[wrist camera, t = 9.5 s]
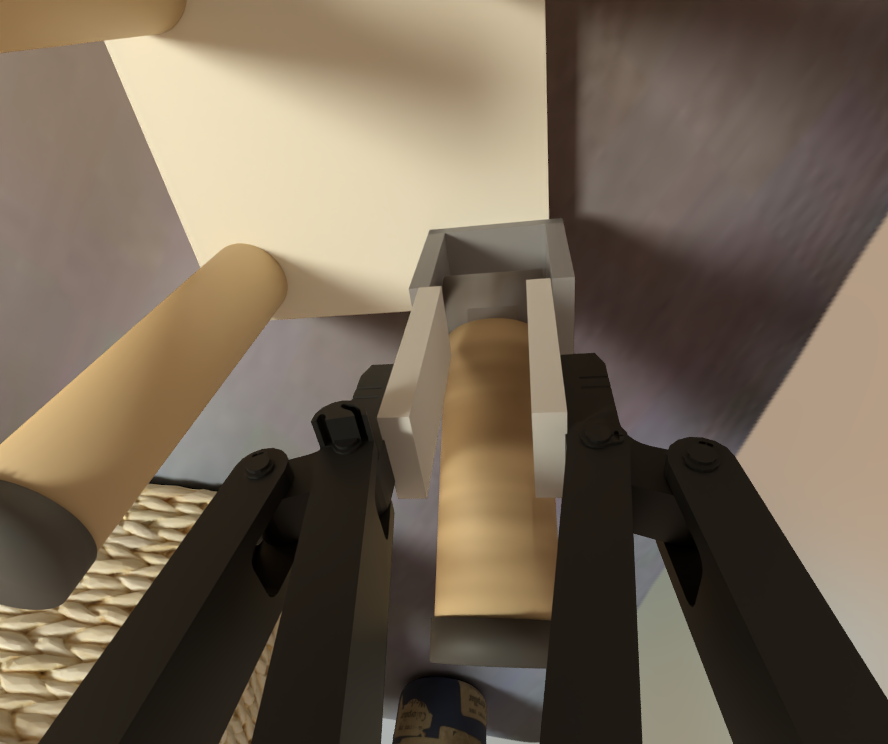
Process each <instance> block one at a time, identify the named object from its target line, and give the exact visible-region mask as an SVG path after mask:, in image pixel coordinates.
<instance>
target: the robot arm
mask: <svg viewBox="0 0 888 744" xmlns="http://www.w3.org/2000/svg"><path fill="white" fill-rule="evenodd" d="M526 291H527V315H528V339H529V363H530V387H531V411H532V433H533V453H534V474H535V495H536V498H562V504H561V515H560V526H559V537H558V548H557V559H556V570H555V581H554V592H553V603H552V614H551V625H550V636H549V647H548V658H547V669H546V680H545V691H544V702H543V713H542V725H541V736H540V744H642V725H641V701H640V677H639V654H638V631H637V607H636V584H635V561H634V537H633V533H634V534H637V535H641V536H645V537H648V538H652V539H655V540H656V543H657V546H658V548H659V551H660V554H661V556H662V559H663V561H664V564H665V567H666V569H667V572H668V574H669V577H670V580H671V582H672V585H673V588H674V590H675V592H676V595H677V598H678V600H679V603H680V606H681V608H682V611H683V613H684V616H685V619H686V621H687V624H688V627H689V629H690V632H691V634H692V637H693V640H694V642H695V645H696V647H697V650H698V653H699V655H700V658H701V661H702V663H703V666H704V668H705V671H706V674H707V676H708V679H709V682H710V684H711V687H712V689H713V692H714V695H715V697H716V700H717V702H718V705H719V708H720V710H721V713H722V715H723V718H724V721H725V723H726V726H727V728H728V731H729V734H730V736H731V739H732V742H733V744H888V699H887V697H886V696H885V695H884V693H883V691H882V690H881V688H880V687H879V685H878V683H877V682H876V680H875V678H874V677H873V675H872V674H871V672H870V670H869V669H868V667H867V666H866V664H865V663H864V661H863V659H862V658H861V656H860V655H859V653H858V652H857V650H856V648H855V647H854V645H853V643H852V642H851V640H850V639H849V637H848V636H847V634H846V632H845V631H844V629H843V627H842V626H841V624H840V623H839V621H838V620H837V618H836V616H835V615H834V613H833V612H832V610H831V608H830V607H829V605H828V604H827V602H826V601H825V599H824V597H823V596H822V594H821V592H820V591H819V589H818V588H817V586H816V585H815V583H814V581H813V580H812V578H811V577H810V575H809V573H808V572H807V570H806V569H805V567H804V565H803V564H802V562H801V561H800V559H799V558H798V556H797V554H796V553H795V551H794V550H793V548H792V547H791V545H790V543H789V542H788V540H787V538H786V537H785V536H784V534H783V532H782V530H781V529H780V527H779V526H778V524H777V522H776V521H775V519H774V518H773V516H772V515H771V513H770V511H769V510H768V508H767V507H766V505H765V503H764V502H763V500H762V499H761V497H760V495H759V494H758V492H757V491H756V489H755V487H754V486H753V484H752V483H751V481H750V480H749V478H748V476H747V475H746V473H745V472H744V470H743V468H742V467H741V465H740V464H739V462H738V460H737V459H736V457H735V456H734V455H733V454H732V453H731V452H730V450H729V449H728V448H727V447H725V446H723V445H721V444H719V443H718V442H716V441H713V440H709V439H706V438H699V437H688V438H684V439H680V440H677V441H676V442H674V443H673V444H671V445H670V447H669V449H668V450H667V449H662V448H657V447H652V446H649V445H645V444H642V443H640V442H638V441H636V440H634V439H632V438H631V437H629V436H628V435H627V432H626V431H625V430H624V429H623V428H622V427H621V425H620V423H619V419H618V415H617V411H616V406H615V402H614V398H613V394H612V390H611V388H610V382H609V378H608V374H607V370H606V365H605V363H604V362H603V361H602V360H601V359H600V358H599V357H598V356H597V355H596V354H595V353H586V354H566V355H560V351H559V343H558V335H557V327H556V319H555V311H554V303H553V295H552V287H551V280H550V278H545V279H531V280H526ZM451 356H452V355H451V348H450V341H449V335H448V328H447V321H446V314H445V308H444V301H443V294H442V287H441V286H434V287H421V288H418V291H417V294H416V297H415V300H414V304H413V307H412V310H411V313H410V316H409V319H408V322H407V325H406V328H405V332H404V335H403V338H402V341H401V344H400V347H399V350H398V353H397V356H396V359H395V363H394V364H386V365H372V366H371V367H370V368H369V369H368V370H367V371H366V372H365V373H364V374H363V375H362V376H361V378H360V380H359V383H358V385H357V390H355V393H354V395H353V399H352V400H351V401H339V402H335V403H331V404H329V405H327V406H325V407H323V408H322V409H321V410H319V411H318V412H317V413H316V414H315V415H314V417H313V419H312V421H311V423H312V426H313V428H314V431H315V434H316V437H317V439H318V442H319V445H320V450H319V451H317V452H315V453H312V454H309V455H306V456H302V457H298V458H294V459H290V460H288V457H287V455H286V454H285V453H284V452H283V451H282V450H279V449H275V448H268V449H261V450H258V451H256V452H253V453H251V454H249V455H248V456H246V457H245V458H243V459H242V460H241V461H240V462H239V463H238V464H237V465H236V466H235V468H234V469H233V470H232V472H231V473H230V475H229V476H228V477H227V479H226V480H225V482H224V483H223V484H222V486H221V487H220V489H219V490H218V491H217V493H216V494H215V496H214V497H213V498H212V500H211V501H210V503H209V504H208V505H207V507H206V508H205V510H204V511H203V513H202V514H201V515H200V517H199V518H198V520H197V521H196V522H195V524H194V525H193V527H192V528H191V529H190V531H189V532H188V534H187V535H186V536H185V538H184V539H183V541H182V542H181V543H180V545H179V546H178V548H177V549H176V550H175V552H174V553H173V555H172V556H171V557H170V559H169V560H168V562H167V563H166V564H165V566H164V567H163V569H162V570H161V571H160V573H159V574H158V576H157V577H156V578H155V580H154V581H153V583H152V584H151V585H150V587H149V588H148V590H147V591H146V593H145V594H144V595H143V597H142V598H141V600H140V601H139V602H138V604H137V605H136V607H135V608H134V609H133V611H132V612H131V614H130V615H129V616H128V618H127V619H126V621H125V622H124V623H123V625H122V626H121V628H120V629H119V630H118V632H117V633H116V635H115V636H114V637H113V639H112V640H111V642H110V643H109V644H108V646H107V647H106V649H105V650H104V651H103V653H102V654H101V656H100V657H99V658H98V660H97V661H96V663H95V664H94V665H93V667H92V668H91V670H90V671H89V673H88V674H87V675H86V677H85V678H84V680H83V681H82V682H81V684H80V685H79V687H78V688H77V689H76V691H75V692H74V694H73V695H72V696H71V698H70V699H69V701H68V702H67V703H66V705H65V706H64V708H63V709H62V710H61V712H60V713H59V715H58V716H57V717H56V719H55V720H54V722H53V723H52V724H51V726H50V727H49V729H48V730H47V731H46V733H45V734H44V736H43V737H42V738H41V740H40V741H39V743H38V744H219V743H220V740H221V738H222V736H223V734H224V732H225V730H226V728H227V726H228V724H229V722H230V719H231V717H232V715H233V713H234V711H235V709H236V707H237V705H238V703H239V700H240V698H241V696H242V694H243V692H244V690H245V688H246V686H247V684H248V682H249V679H250V677H251V675H252V673H253V671H254V669H255V667H256V665H257V663H258V661H259V658H260V656H261V654H262V652H263V650H264V648H265V646H266V644H267V642H268V639H269V637H270V635H271V633H272V631H273V629H274V627H275V625H276V623H277V621H278V618H279V616H280V614H281V617H280V622H279V626H278V630H277V634H276V639H275V643H274V647H273V651H272V656H271V660H270V664H269V668H268V673H267V677H266V681H265V686H264V690H263V694H262V698H261V703H260V707H259V711H258V715H257V720H256V724H255V728H254V732H253V737H252V741H251V744H381V733H382V716H383V699H384V682H385V665H386V648H387V631H388V614H389V597H390V580H391V562H392V545H393V528H394V509H393V504H392V501H391V497H392V493H393V489H394V485H395V488H396V492H397V496H398V499H403V498H427V496H428V490H429V484H430V478H431V472H432V466H433V461H434V455H435V449H436V443H437V437H438V431H439V426H440V420H441V414H442V408H443V402H444V397H445V391H446V385H447V379H448V373H449V367H450V362H451ZM281 612H282V613H281Z"/></svg>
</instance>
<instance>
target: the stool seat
mask: <svg viewBox="0 0 888 744" xmlns="http://www.w3.org/2000/svg"><path fill="white" fill-rule="evenodd" d="M97 41H104V42H105V44H106V46H107V49H108V51H109V53H110V56H111V58H112V61H113V63H114V65H115V68H116V70H117V72H118V75H119V77H120V79H121V82H122V84H123V86H124V89H125V91H126V93H127V96H128V98H129V100H130V103H131V105H132V107H133V110H134V112H135V115H136V117H137V119H138V122H139V124H140V126H141V129H142V131H143V133H144V136H145V138H146V140H147V143H148V145H149V147H150V150H151V152H152V154H153V157H154V159H155V161H156V164H157V166H158V169H159V171H160V173H161V176H162V178H163V180H164V183H165V185H166V187H167V190H168V192H169V194H170V197H171V199H172V201H173V204H174V206H175V208H176V211H177V213H178V215H179V218H180V220H181V223H182V225H183V227H184V230H185V232H186V234H187V237H188V239H189V241H190V244H191V246H192V248H193V251H194V253H195V255H196V258H197V260H198V262H199V265H200V267H201V268H200V269H199V270H198V271H197V272H195V273H194V274H193V275H192V276H191V277H190V278H189V279H187V280H186V281H185V282H184V283H183V284H182V285H181V286H180V287H178V288H177V289H176V290H175V291H174V292H173V293H172V294H170V295H169V296H168V297H167V298H166V299H165V300H164V301H162V302H161V303H160V304H159V305H158V306H157V307H156V308H155V309H153V310H152V311H151V312H150V313H149V314H148V315H147V316H145V317H144V318H143V319H142V320H141V321H140V322H139V323H138V324H136V325H135V326H134V327H133V328H132V329H131V330H130V331H128V332H127V333H126V334H125V335H124V336H123V337H122V338H121V339H119V340H118V341H117V342H116V343H115V344H114V345H113V346H111V347H110V348H109V349H108V350H107V351H106V352H105V353H104V354H102V355H101V356H100V357H99V358H98V359H97V360H96V361H94V362H93V363H92V364H91V365H90V366H89V367H88V368H87V369H85V370H84V371H83V372H82V373H81V374H80V375H79V376H77V377H76V378H75V379H74V380H73V381H72V382H71V383H70V384H68V385H67V386H66V387H65V388H64V389H63V390H62V391H60V392H59V393H58V394H57V395H56V396H55V397H54V398H52V399H51V400H50V401H49V402H48V403H47V404H46V405H45V406H43V407H42V408H41V409H40V410H39V411H38V412H37V413H35V414H34V415H33V416H32V417H31V418H30V419H29V420H28V421H26V422H25V423H24V424H23V425H22V426H21V427H20V428H18V429H17V430H16V431H15V432H14V433H13V434H12V435H11V436H9V437H8V438H7V439H6V440H5V441H4V442H3V443H1V444H0V605H4V606H8V607H13V608H19V609H27V610H46V609H52V608H55V607H58V606H60V605H62V604H63V603H64V602H65V601H66V600H67V599H68V597H69V596H70V595H71V593H72V592H73V591H74V589H75V588H76V586H77V585H78V584H79V582H80V581H81V580H82V578H83V577H84V576H85V574H86V573H87V572H88V570H89V569H90V567H91V566H92V565H93V563H94V562H95V560H96V558H97V552H98V551H99V549H100V548H101V547H102V545H103V544H104V543H105V541H106V540H107V539H108V537H109V536H110V534H111V533H112V532H113V530H114V529H115V528H116V526H117V525H118V524H119V522H120V521H121V520H122V518H123V517H124V516H125V514H126V513H127V512H128V510H129V509H130V508H131V506H132V505H133V504H134V502H135V501H136V499H137V498H138V497H139V495H140V494H141V493H142V491H143V490H144V489H145V487H146V486H147V485H148V483H149V482H150V481H151V479H152V478H153V477H154V475H155V474H156V473H157V471H158V470H159V469H160V467H161V466H162V465H163V463H164V462H165V460H166V459H167V458H168V456H169V455H170V454H171V452H172V451H173V450H174V448H175V447H176V446H177V444H178V443H179V442H180V440H181V439H182V438H183V436H184V435H185V434H186V432H187V431H188V430H189V428H190V427H191V425H192V424H193V423H194V421H195V420H196V419H197V417H198V416H199V415H200V413H201V412H202V411H203V409H204V408H205V407H206V405H207V404H208V403H209V401H210V400H211V399H212V397H213V396H214V395H215V393H216V392H217V391H218V389H219V388H220V386H221V385H222V384H223V382H224V381H225V380H226V378H227V377H228V376H229V374H230V373H231V372H232V370H233V369H234V368H235V366H236V365H237V364H238V362H239V361H240V360H241V358H242V357H243V356H244V354H245V353H246V351H247V350H248V349H249V347H250V346H251V345H252V343H253V342H254V341H255V339H256V338H257V337H258V335H259V334H260V333H261V331H262V330H263V329H264V327H265V326H266V325H267V323H268V322H269V321H270V320H282V319H297V318H313V317H328V316H343V315H359V314H374V313H389V312H405V311H411V310H412V307H413V304H414V300H415V297H416V294H417V291H418V288H421V287H434V286H441V287H442V286H443V279H444V277H445V276H453V275H466V274H479V273H493V272H506V271H519V270H532V269H542V273H543V279H545V278H550V280H551V287H552V295H553V303H554V311H555V319H556V327H557V335H558V343H559V351H560V355H566V354H574V311H575V275H574V270H573V266H572V261H571V256H570V252H569V247H568V242H567V238H566V233H565V228H564V223H563V219H562V218H555V219H549V193H548V139H547V84H546V30H545V0H0V53H6V52H14V51H23V50H31V49H39V48H48V47H56V46H64V45H72V44H81V43H89V42H97Z"/></svg>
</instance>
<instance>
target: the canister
mask: <svg viewBox="0 0 888 744" xmlns="http://www.w3.org/2000/svg"><path fill="white" fill-rule="evenodd" d="M486 721H487V705H486V702H485V699H484V697H483V696H482V694H481V693H480V692H479V691H478V690H477V689H476V688H474V687H473V686H471V685H470V684H467V683H465V682H462V681H460V680H455V679H450V678H444V677H427V678H421V679H418V680H415V681H412V682H411V683H409V684H408V685H407V686H406V687H405V688H404V689H403V691H402V693H401V695H400V700H399V706H398V712H397V718H396V725H395V731H394V735H393V743H392V744H486Z"/></svg>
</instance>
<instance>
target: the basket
mask: <svg viewBox="0 0 888 744" xmlns="http://www.w3.org/2000/svg"><path fill="white" fill-rule="evenodd" d="M216 493H217V492H216V491H210V490H205V489H201V490H197V489H189V488H185V487H181V486H172V485H157V484H148V485H147V486H146V487H145V489H144V490H143V491H142V493H141V494H140V495H139V497H138V498H137V499H136V501H135V502H134V504H133V505H132V506H131V508H130V509H129V510H128V512H127V513H126V514H125V516H124V517H123V518H122V520H121V521H120V522H119V524H118V525H117V526H116V528H115V529H114V530H113V532H112V533H111V534H110V536H109V537H108V539H107V540H106V541H105V543H104V544H103V545H102V547H101V548H100V549H99V551H98V552H97V558H96V560H95V562H94V563H93V565H92V566H91V567H90V569H89V570H88V572H87V573H86V574H85V576H84V577H83V578H82V580H81V581H80V582H79V584H78V585H77V586H76V588H75V589H74V591H73V592H72V593H71V595H70V596H69V597H68V599H67V600H66V601H65V602H64V603H63V604H62V605H60V606H58V607H55V608H52V609H46V610H27V609H19V608H13V607H8V606H4V605H0V744H38V743H39V741H40V740H41V738H42V737H43V736H44V734H45V733H46V731H47V730H48V729H49V727H50V726H51V724H52V723H53V722H54V720H55V719H56V717H57V716H58V715H59V713H60V712H61V710H62V709H63V708H64V706H65V705H66V703H67V702H68V701H69V699H70V698H71V696H72V695H73V694H74V692H75V691H76V689H77V688H78V687H79V685H80V684H81V682H82V681H83V680H84V678H85V677H86V675H87V674H88V673H89V671H90V670H91V668H92V667H93V665H94V664H95V663H96V661H97V660H98V658H99V657H100V656H101V654H102V653H103V651H104V650H105V649H106V647H107V646H108V644H109V643H110V642H111V640H112V639H113V637H114V636H115V635H116V633H117V632H118V630H119V629H120V628H121V626H122V625H123V623H124V622H125V621H126V619H127V618H128V616H129V615H130V614H131V612H132V611H133V609H134V608H135V607H136V605H137V604H138V602H139V601H140V600H141V598H142V597H143V595H144V594H145V593H146V591H147V590H148V588H149V587H150V585H151V584H152V583H153V581H154V580H155V578H156V577H157V576H158V574H159V573H160V571H161V570H162V569H163V567H164V566H165V564H166V563H167V562H168V560H169V559H170V557H171V556H172V555H173V553H174V552H175V550H176V549H177V548H178V546H179V545H180V543H181V542H182V541H183V539H184V538H185V536H186V535H187V534H188V532H189V531H190V529H191V528H192V527H193V525H194V524H195V522H196V521H197V520H198V518H199V517H200V515H201V514H202V513H203V511H204V510H205V508H206V507H207V505H208V504H209V503H210V501H211V500H212V498H213V497H214V496H215V494H216ZM281 613H282V612H281ZM280 617H281V614H280V616H279V618H278V621H277V623H276V625H275V627H274V629H273V631H272V633H271V635H270V637H269V639H268V642H267V644H266V646H265V648H264V650H263V652H262V654H261V656H260V658H259V661H258V663H257V665H256V667H255V669H254V671H253V673H252V675H251V677H250V679H249V682H248V684H247V686H246V688H245V690H244V692H243V694H242V696H241V698H240V700H239V703H238V705H237V707H236V709H235V711H234V713H233V715H232V717H231V719H230V722H229V724H228V726H227V728H226V730H225V732H224V734H223V736H222V738H221V740H220V743H219V744H251V741H252V737H253V732H254V728H255V724H256V720H257V715H258V711H259V707H260V703H261V698H262V694H263V690H264V686H265V681H266V677H267V673H268V668H269V664H270V660H271V656H272V651H273V647H274V643H275V639H276V634H277V630H278V626H279V622H280Z"/></svg>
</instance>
